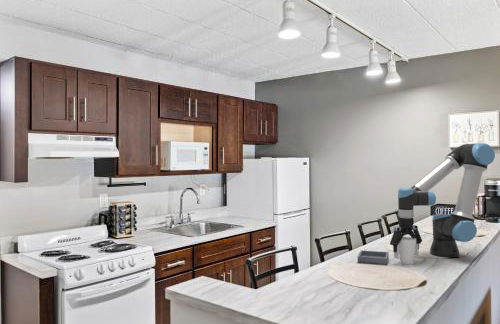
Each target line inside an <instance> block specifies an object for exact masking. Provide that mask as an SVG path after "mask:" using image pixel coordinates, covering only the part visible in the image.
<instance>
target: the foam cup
mask: <svg viewBox="0 0 500 324" xmlns="http://www.w3.org/2000/svg"><path fill="white" fill-rule="evenodd" d="M398 246H399V261H400V264H402V265H413V264H414V262H415V261H414V260H415V255H414V254H415V246H416V238H412V237H411V236H403V237H402V239H401V241H400V242H399V244H398Z"/></svg>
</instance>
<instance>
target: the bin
mask: <svg viewBox="0 0 500 324" xmlns="http://www.w3.org/2000/svg"><path fill="white" fill-rule="evenodd" d="M389 254H390V252H388V251H377V250H376V251H374V250H360V252H359V253H358V256H357V264H363V265H365V264H366V265H378V266H380V265H381V266H388V263H389V258H390V257H389V256H390V255H389Z"/></svg>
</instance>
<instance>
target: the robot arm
mask: <svg viewBox="0 0 500 324" xmlns="http://www.w3.org/2000/svg"><path fill="white" fill-rule="evenodd" d="M495 157H496V154H495V150H494V149H493V147H492V146H491V145H490V144H488V143H485V142H476V143H464V144H461V145H459V146H457V147H456V148H455V149H453V150H452V151H451V152H449V153H448V154H447V155H446V156H445V157H444V159H443V160H442V161H441V162H440V163H439V164H438V165H437V166H436V167H434V168H432V170H430V172H428V173H427V174H425V175H424V176H423V177H422V178H421V179H419V180H418V182H416V183H414V185H413V186H411V187H401V188H398V191H397V201H398V203H397V205H398V212H397V213H398V218H397V219H398V224H399V225H398V226H394V231H393V233H392V237H391V240H390V242H389V245H391V246H392V251H393V257H394V259H397V260H400V256H399V246H398V244H399V242H400V241H401V239H402V237H405V236H407V235H408V236H409V237H412V238H416V246H415V254H414V257H415V256H416V257H419V254H420V253H419V249H420V244H422V242H423V239H422V237H421V234H420V232H419V229H418V228H419V226H418V225H416V224H414V223H415V222H414V214H415V213H414V208H415V207H416V206H420V207H422V206H424V207H426V206H428V207H430V206H433V205H435V204H436V202H437V195H436V194H435V192H433V191H430V190H432V189H433V188H434V187H436V185H438V184H439V183H440V182H442V180H444V179H445V178H446V177H447V176H448V175H450V174H451V173H452V172H453V171H455V170H459V169H460V168H461V167H463V168H464V171H463V176H462V180H461V183H460V186H459V187H460V188H459V193H458V196H457V201H456V204H455V208H454V211H453V212H451V213H449V214H448V213H446V214H445V213H444V214H443V213H441V214H440V213H439V214H434V215H433V216H432V243H431V245H430V249H429V253H430V255H433V256H436V257H441V258H442V257H443V258H456V257H459V256H460V249H459V246H458V243H457V242H463V243H468V242H470V241H472V240H473V239H474V238H475V237H476V236H477V232H478V229H477V227H476V226H477V225H476V224H475V217H474V216H473V215H474V210H475V207H476V202H477V198H478V193H479V190H480V184H481V180H482V177H483V173H484V172H485V171H487V170H488V166H489V165H491V163H493V162H494V160H495Z"/></svg>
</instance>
